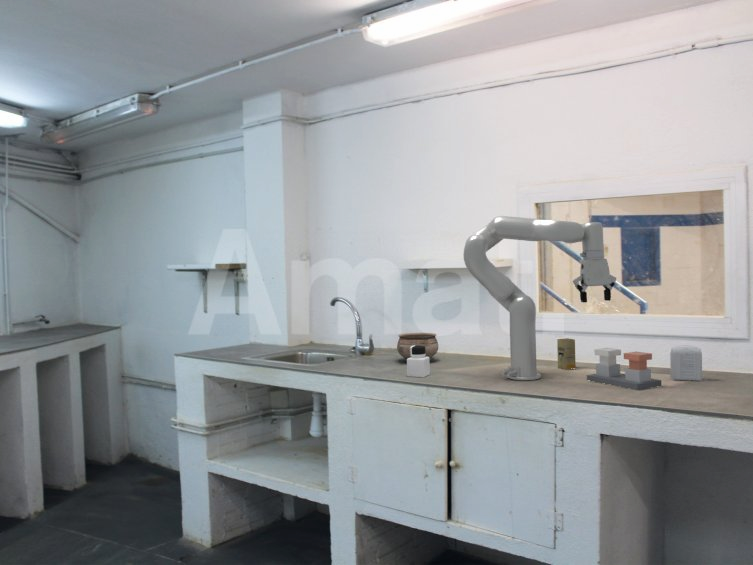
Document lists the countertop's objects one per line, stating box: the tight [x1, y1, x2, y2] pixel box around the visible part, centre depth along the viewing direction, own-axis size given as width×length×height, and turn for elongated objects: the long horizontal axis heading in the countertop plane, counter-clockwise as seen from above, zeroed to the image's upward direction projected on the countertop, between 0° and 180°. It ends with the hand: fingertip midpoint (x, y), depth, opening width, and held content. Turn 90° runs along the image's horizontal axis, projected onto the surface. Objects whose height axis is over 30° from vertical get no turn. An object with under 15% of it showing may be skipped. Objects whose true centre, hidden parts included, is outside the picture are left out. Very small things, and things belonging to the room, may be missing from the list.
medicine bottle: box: [406, 345, 431, 378], centre depth 249 cm, size 7×7×12 cm
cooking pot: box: [396, 332, 439, 360], centre depth 285 cm, size 25×19×12 cm
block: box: [586, 362, 662, 391], centre depth 221 cm, size 12×22×6 cm, turn 28°
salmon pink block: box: [623, 351, 653, 370], centre depth 215 cm, size 6×6×6 cm
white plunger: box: [593, 347, 622, 365], centre depth 227 cm, size 6×6×6 cm
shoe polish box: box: [556, 337, 577, 370], centre depth 254 cm, size 5×5×12 cm
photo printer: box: [669, 345, 703, 382], centre depth 223 cm, size 10×4×12 cm, turn 72°
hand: (595, 301), depth 233 cm, fingers open, 9 cm apart
